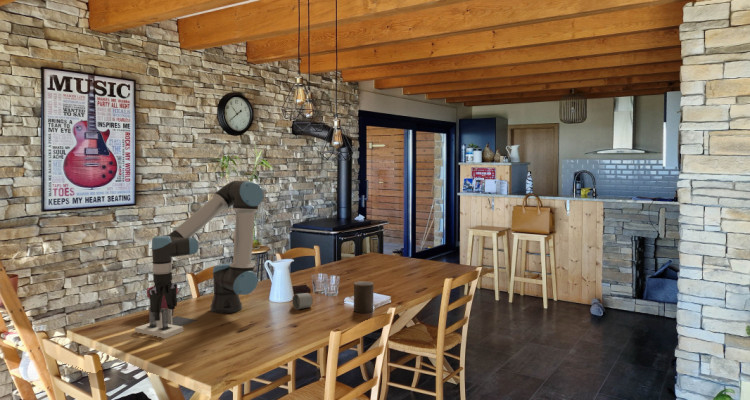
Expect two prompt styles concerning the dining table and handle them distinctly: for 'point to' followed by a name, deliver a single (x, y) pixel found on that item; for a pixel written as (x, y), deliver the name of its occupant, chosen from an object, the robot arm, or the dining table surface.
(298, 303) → the grey cylinder
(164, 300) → the plant pot
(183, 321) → the mat
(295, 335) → the dining table surface
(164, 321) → the peg
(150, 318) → the seated peg
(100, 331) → the dining table surface
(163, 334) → the hole board
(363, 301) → the pillar candle
